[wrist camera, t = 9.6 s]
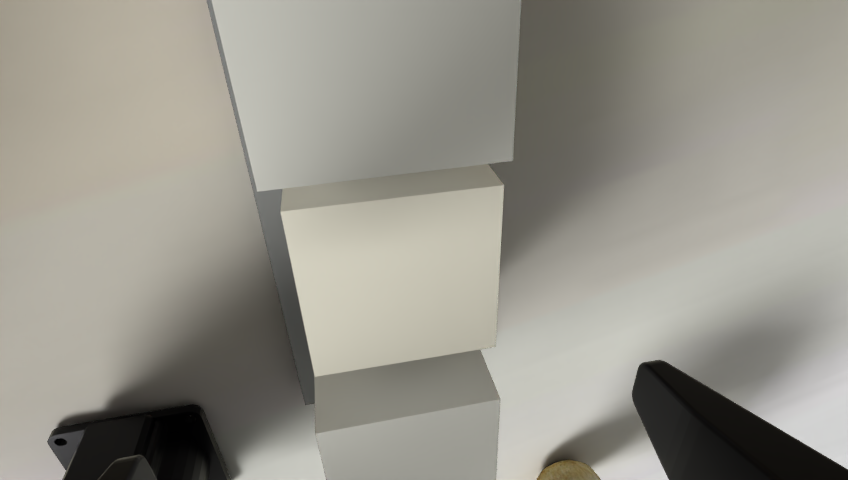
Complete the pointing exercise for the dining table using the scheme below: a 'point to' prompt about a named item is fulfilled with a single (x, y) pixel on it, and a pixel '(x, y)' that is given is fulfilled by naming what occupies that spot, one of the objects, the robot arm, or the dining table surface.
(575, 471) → the decorative mushroom
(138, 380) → the dining table surface
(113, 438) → the robot arm
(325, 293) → the block
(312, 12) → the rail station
